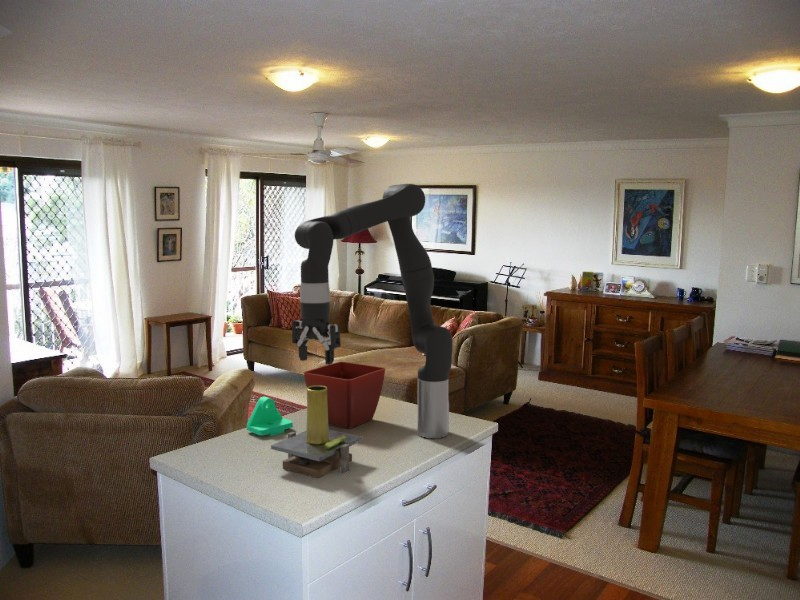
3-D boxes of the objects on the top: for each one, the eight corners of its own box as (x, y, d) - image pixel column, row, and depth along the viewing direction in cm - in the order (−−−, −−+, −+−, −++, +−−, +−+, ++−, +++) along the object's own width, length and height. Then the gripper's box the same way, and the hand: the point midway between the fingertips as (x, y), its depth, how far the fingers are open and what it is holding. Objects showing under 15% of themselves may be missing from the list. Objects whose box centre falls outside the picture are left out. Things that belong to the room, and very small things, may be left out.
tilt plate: (316, 429, 185) (316, 421, 185) (362, 440, 177) (362, 431, 176) (271, 449, 170) (270, 439, 170) (319, 461, 162) (318, 451, 162)
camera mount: (260, 439, 195) (259, 405, 194) (246, 433, 200) (245, 400, 199) (294, 430, 203) (293, 397, 202) (280, 424, 209) (279, 393, 207)
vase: (306, 437, 176) (305, 385, 174) (329, 436, 177) (329, 384, 175) (305, 445, 170) (304, 391, 168) (329, 444, 171) (328, 390, 169)
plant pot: (302, 423, 209) (301, 371, 207) (341, 409, 225) (341, 360, 223) (349, 434, 199) (349, 379, 197) (387, 418, 214) (386, 368, 212)
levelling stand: (307, 450, 185) (307, 425, 184) (363, 463, 175) (362, 438, 174) (272, 465, 174) (271, 439, 173) (329, 481, 163) (329, 454, 162)
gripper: (346, 300, 168) (346, 362, 170) (303, 296, 176) (304, 356, 178) (327, 303, 162) (328, 368, 164) (284, 299, 170) (285, 361, 172)
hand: (316, 362), depth 171 cm, fingers open, 8 cm apart
